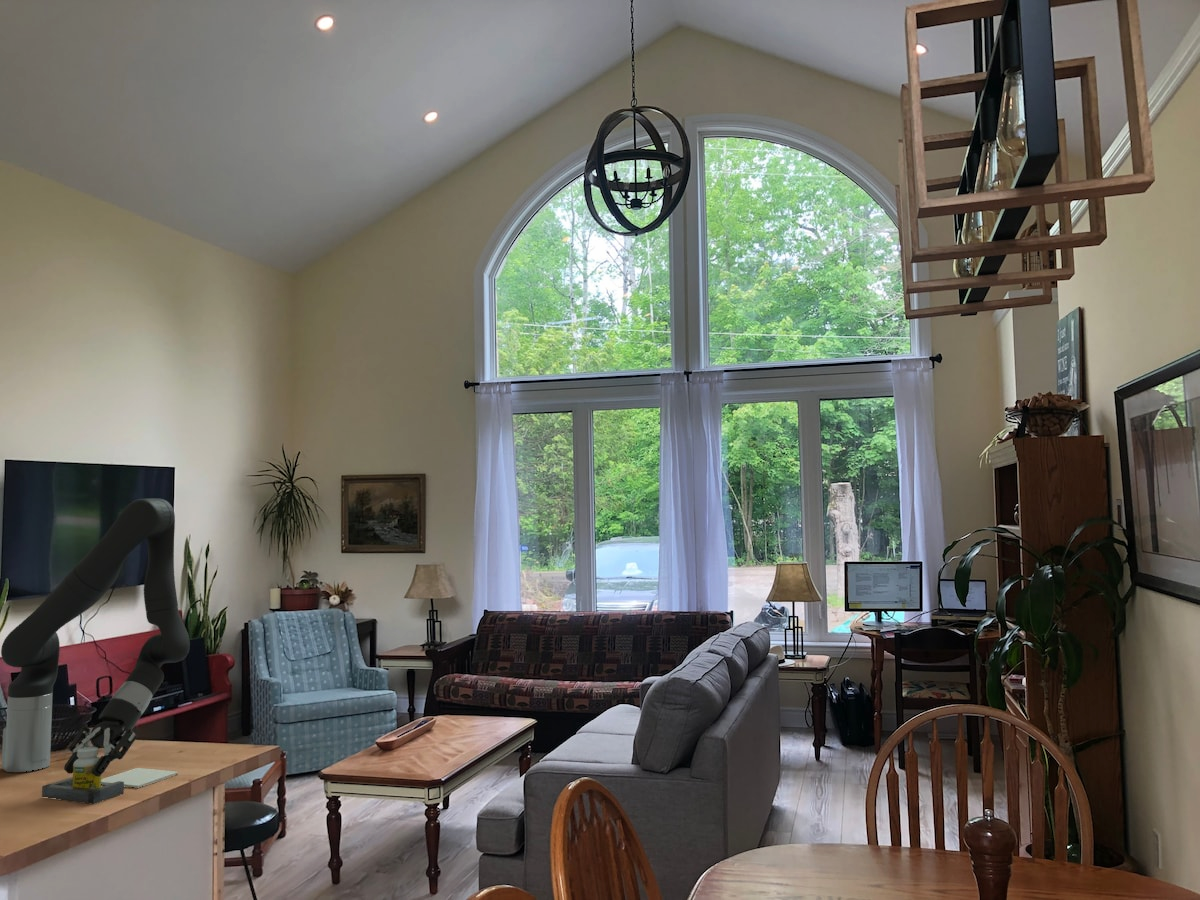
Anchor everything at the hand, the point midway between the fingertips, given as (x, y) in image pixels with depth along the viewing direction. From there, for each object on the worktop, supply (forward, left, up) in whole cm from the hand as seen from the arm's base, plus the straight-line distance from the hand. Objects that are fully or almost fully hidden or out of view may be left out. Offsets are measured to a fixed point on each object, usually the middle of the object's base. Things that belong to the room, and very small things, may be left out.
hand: (81, 772), depth 198 cm
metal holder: (0, +2, -5) cm, 5 cm away
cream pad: (+1, +15, -5) cm, 15 cm away
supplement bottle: (0, +2, -5) cm, 5 cm away
